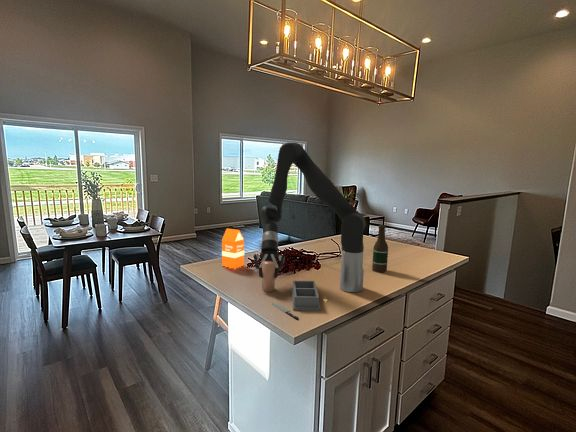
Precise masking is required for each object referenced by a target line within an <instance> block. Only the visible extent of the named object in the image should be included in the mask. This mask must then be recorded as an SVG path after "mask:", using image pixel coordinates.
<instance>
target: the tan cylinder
mask: <svg viewBox="0 0 576 432" xmlns="http://www.w3.org/2000/svg"><path fill="white" fill-rule="evenodd" d="M275 290H276V278H275V262H274V261H263V262H262V278H261V291H263V292H267V293H271V292H273V291H275Z"/></svg>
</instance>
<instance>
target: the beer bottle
mask: <svg viewBox="0 0 576 432" xmlns="http://www.w3.org/2000/svg"><path fill="white" fill-rule="evenodd" d="M386 228H387V227H386V225H384V224H383V225H382V224H379V225H378V234H377V240H376V241H375V242H374V245H373V250H372V264H371V269H372V271H373V272H374V273H379V274H384V273H386V272H387V269H388V257H389V256H388V255H389V247H388V245H389V244H388V243H387V241H386Z"/></svg>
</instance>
